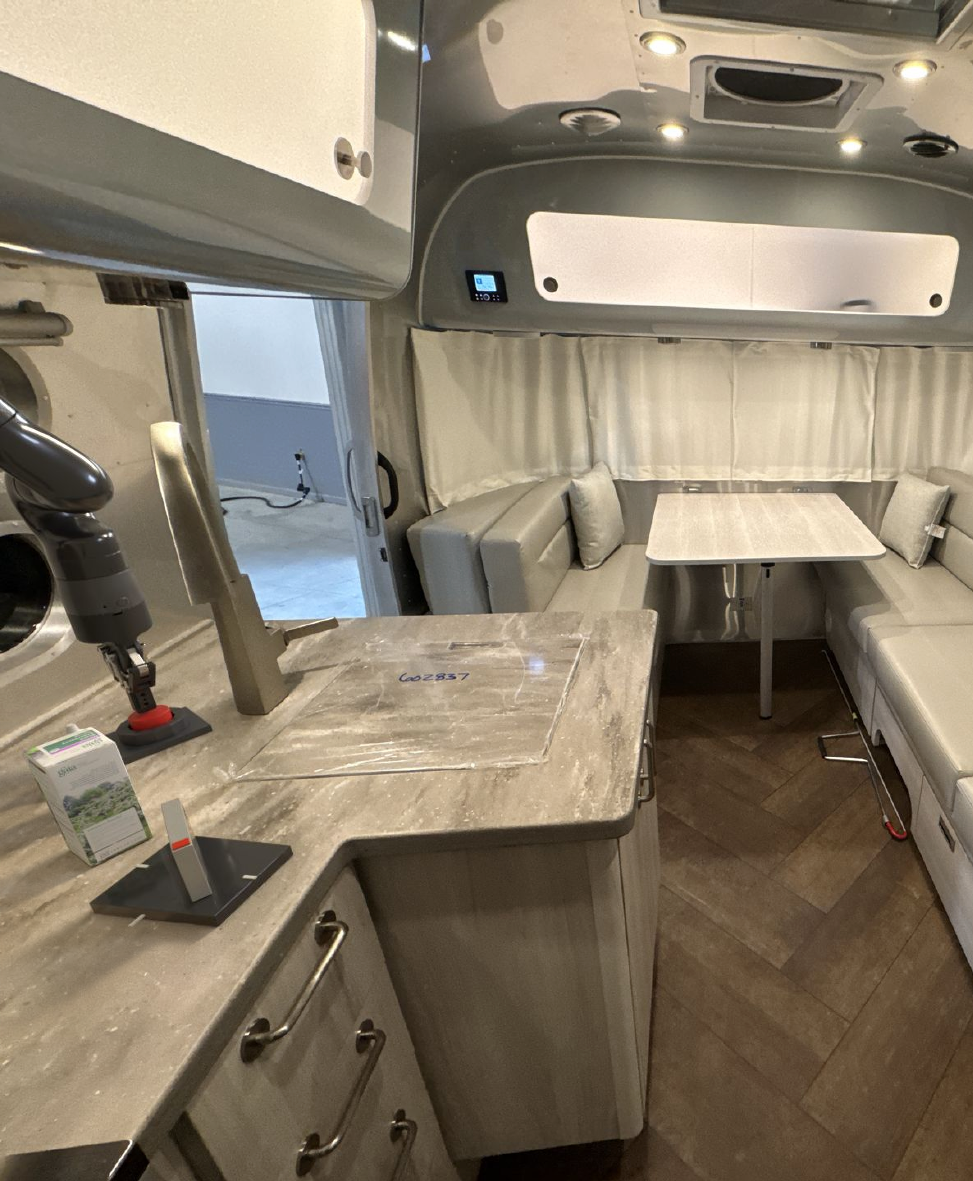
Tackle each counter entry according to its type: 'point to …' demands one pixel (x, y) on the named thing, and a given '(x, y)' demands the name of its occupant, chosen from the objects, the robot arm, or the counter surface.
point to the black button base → (158, 735)
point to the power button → (150, 718)
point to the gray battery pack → (185, 849)
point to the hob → (165, 894)
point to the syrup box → (89, 794)
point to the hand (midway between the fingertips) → (145, 709)
